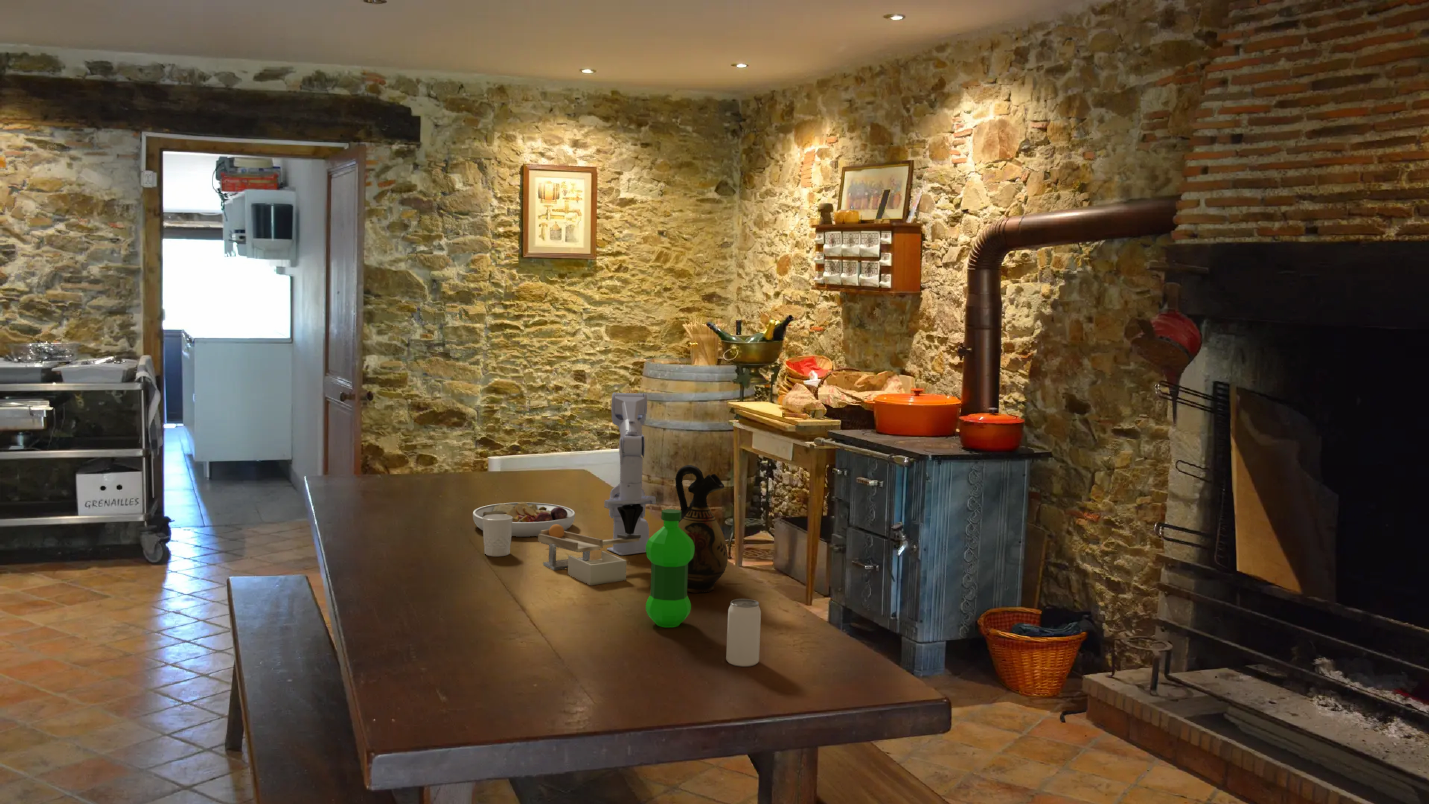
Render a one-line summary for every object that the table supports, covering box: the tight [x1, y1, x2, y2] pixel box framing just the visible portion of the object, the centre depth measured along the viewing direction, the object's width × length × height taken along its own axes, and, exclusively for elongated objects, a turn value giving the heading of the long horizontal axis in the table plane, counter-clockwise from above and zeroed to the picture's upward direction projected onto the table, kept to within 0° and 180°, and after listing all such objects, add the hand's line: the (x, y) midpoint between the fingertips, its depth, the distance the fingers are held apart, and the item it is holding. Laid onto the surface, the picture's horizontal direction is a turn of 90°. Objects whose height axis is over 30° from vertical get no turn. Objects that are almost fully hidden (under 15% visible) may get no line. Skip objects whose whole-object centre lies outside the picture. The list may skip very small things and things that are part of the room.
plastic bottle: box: [645, 508, 695, 628], centre depth 243 cm, size 10×10×25 cm
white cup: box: [482, 514, 513, 557], centre depth 301 cm, size 8×8×10 cm
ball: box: [549, 524, 564, 538], centre depth 297 cm, size 4×4×4 cm
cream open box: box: [567, 550, 627, 586], centre depth 280 cm, size 10×11×5 cm
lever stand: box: [542, 544, 591, 571], centre depth 291 cm, size 12×6×6 cm, turn 126°
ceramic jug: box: [674, 464, 729, 594], centre depth 273 cm, size 17×15×30 cm
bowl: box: [472, 501, 576, 538], centre depth 334 cm, size 30×30×8 cm
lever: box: [537, 528, 641, 553], centre depth 294 cm, size 19×21×3 cm
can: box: [725, 598, 762, 668], centre depth 220 cm, size 6×6×12 cm
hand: (629, 533), depth 291 cm, fingers closed
